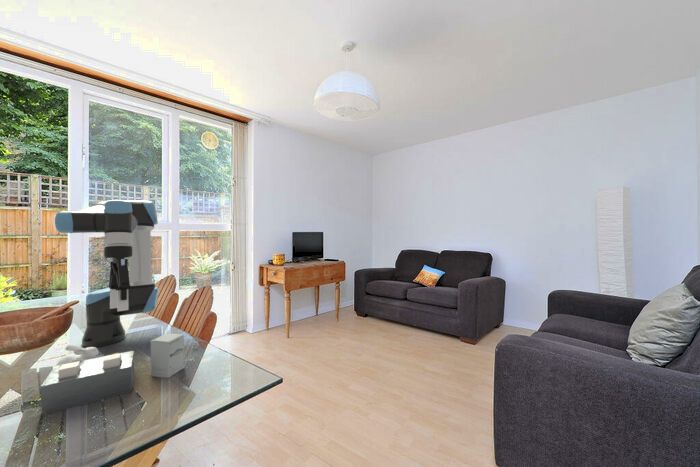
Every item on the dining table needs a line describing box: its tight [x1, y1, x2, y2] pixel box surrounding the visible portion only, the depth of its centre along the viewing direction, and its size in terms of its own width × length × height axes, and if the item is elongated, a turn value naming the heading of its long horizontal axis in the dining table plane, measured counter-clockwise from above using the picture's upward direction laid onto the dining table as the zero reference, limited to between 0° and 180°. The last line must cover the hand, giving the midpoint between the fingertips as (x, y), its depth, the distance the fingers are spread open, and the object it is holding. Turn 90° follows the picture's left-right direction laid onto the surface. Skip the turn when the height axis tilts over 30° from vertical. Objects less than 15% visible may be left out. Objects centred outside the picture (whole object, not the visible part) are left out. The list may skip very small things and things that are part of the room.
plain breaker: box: [58, 361, 80, 379], centre depth 88 cm, size 4×4×5 cm
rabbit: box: [55, 344, 99, 366], centre depth 100 cm, size 12×9×12 cm
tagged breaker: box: [103, 352, 122, 369], centre depth 93 cm, size 4×4×5 cm
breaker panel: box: [40, 350, 135, 416], centre depth 92 cm, size 14×20×9 cm
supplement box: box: [150, 332, 185, 379], centre depth 104 cm, size 7×7×13 cm
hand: (118, 309), depth 98 cm, fingers open, 13 cm apart
